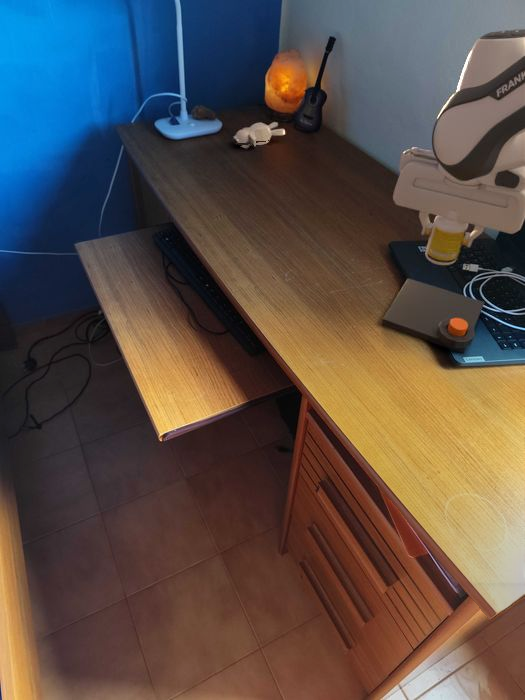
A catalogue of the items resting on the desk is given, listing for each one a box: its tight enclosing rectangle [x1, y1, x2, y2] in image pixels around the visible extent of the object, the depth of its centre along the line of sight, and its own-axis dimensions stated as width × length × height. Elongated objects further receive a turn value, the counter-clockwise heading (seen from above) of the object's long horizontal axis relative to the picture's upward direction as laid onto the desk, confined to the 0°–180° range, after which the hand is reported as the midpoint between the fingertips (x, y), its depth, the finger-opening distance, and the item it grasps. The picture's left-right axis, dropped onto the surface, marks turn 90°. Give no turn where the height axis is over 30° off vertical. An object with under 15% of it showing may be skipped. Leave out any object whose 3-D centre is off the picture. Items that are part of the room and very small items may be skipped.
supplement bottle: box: [424, 211, 469, 266], centre depth 78 cm, size 5×5×10 cm
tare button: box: [447, 318, 468, 337], centre depth 80 cm, size 3×3×2 cm
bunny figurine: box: [233, 121, 286, 149], centre depth 142 cm, size 10×5×15 cm
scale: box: [381, 277, 486, 354], centre depth 86 cm, size 16×15×3 cm
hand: (446, 239), depth 79 cm, fingers closed on supplement bottle, 5 cm apart
